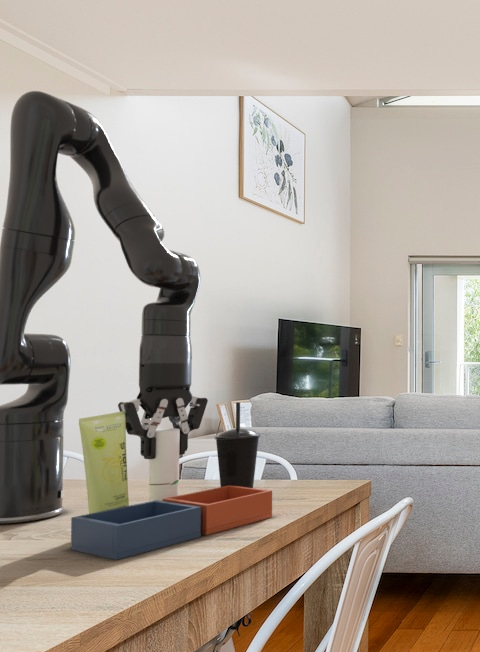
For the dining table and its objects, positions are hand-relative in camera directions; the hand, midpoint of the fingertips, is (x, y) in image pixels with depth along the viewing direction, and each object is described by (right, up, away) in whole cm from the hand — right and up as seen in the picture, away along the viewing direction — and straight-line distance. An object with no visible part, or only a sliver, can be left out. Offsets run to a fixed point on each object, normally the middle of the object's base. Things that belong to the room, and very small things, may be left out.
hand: (164, 456), depth 103 cm
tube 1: (-2, -11, -9) cm, 14 cm away
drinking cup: (+7, -11, +10) cm, 17 cm away
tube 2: (0, -10, 0) cm, 10 cm away
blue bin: (+6, -11, -14) cm, 19 cm away
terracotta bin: (+11, -11, -2) cm, 16 cm away
